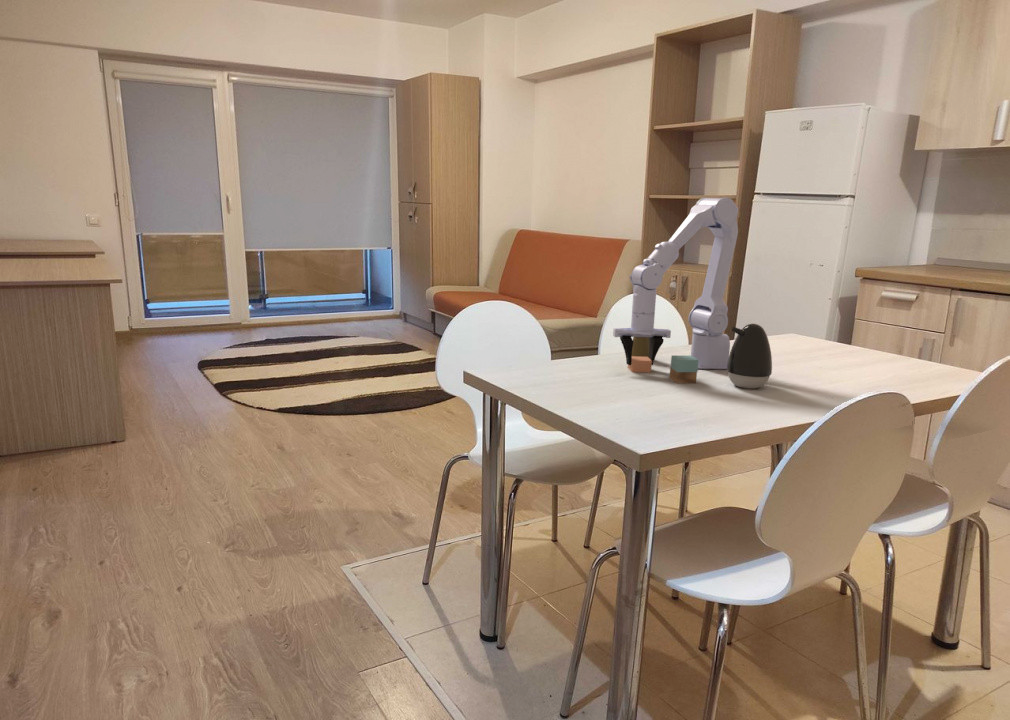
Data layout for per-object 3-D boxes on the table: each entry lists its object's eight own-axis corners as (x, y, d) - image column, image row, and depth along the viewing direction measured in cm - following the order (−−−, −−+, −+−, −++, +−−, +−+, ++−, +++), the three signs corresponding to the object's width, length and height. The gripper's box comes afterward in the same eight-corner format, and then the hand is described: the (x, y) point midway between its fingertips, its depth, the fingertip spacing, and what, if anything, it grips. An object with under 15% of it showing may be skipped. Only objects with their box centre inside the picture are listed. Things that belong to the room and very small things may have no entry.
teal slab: (690, 367, 172) (691, 355, 171) (697, 372, 167) (698, 360, 167) (670, 367, 172) (671, 355, 171) (677, 372, 167) (678, 359, 166)
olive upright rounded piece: (652, 361, 191) (655, 321, 189) (630, 360, 191) (633, 320, 189) (648, 356, 197) (651, 318, 195) (627, 355, 197) (630, 317, 195)
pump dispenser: (717, 381, 171) (723, 319, 167) (757, 380, 172) (763, 320, 169) (735, 391, 161) (742, 327, 157) (777, 391, 162) (785, 327, 159)
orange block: (646, 367, 183) (647, 356, 182) (651, 372, 178) (651, 360, 177) (627, 367, 182) (628, 356, 182) (631, 371, 178) (632, 360, 177)
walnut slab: (689, 379, 173) (690, 367, 172) (695, 384, 168) (696, 372, 167) (669, 378, 172) (670, 367, 172) (675, 383, 168) (676, 371, 167)
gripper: (619, 314, 172) (615, 367, 175) (676, 315, 174) (671, 368, 176) (612, 310, 179) (609, 361, 182) (667, 311, 180) (663, 362, 183)
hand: (639, 364), depth 180 cm, fingers closed on orange block, 5 cm apart
